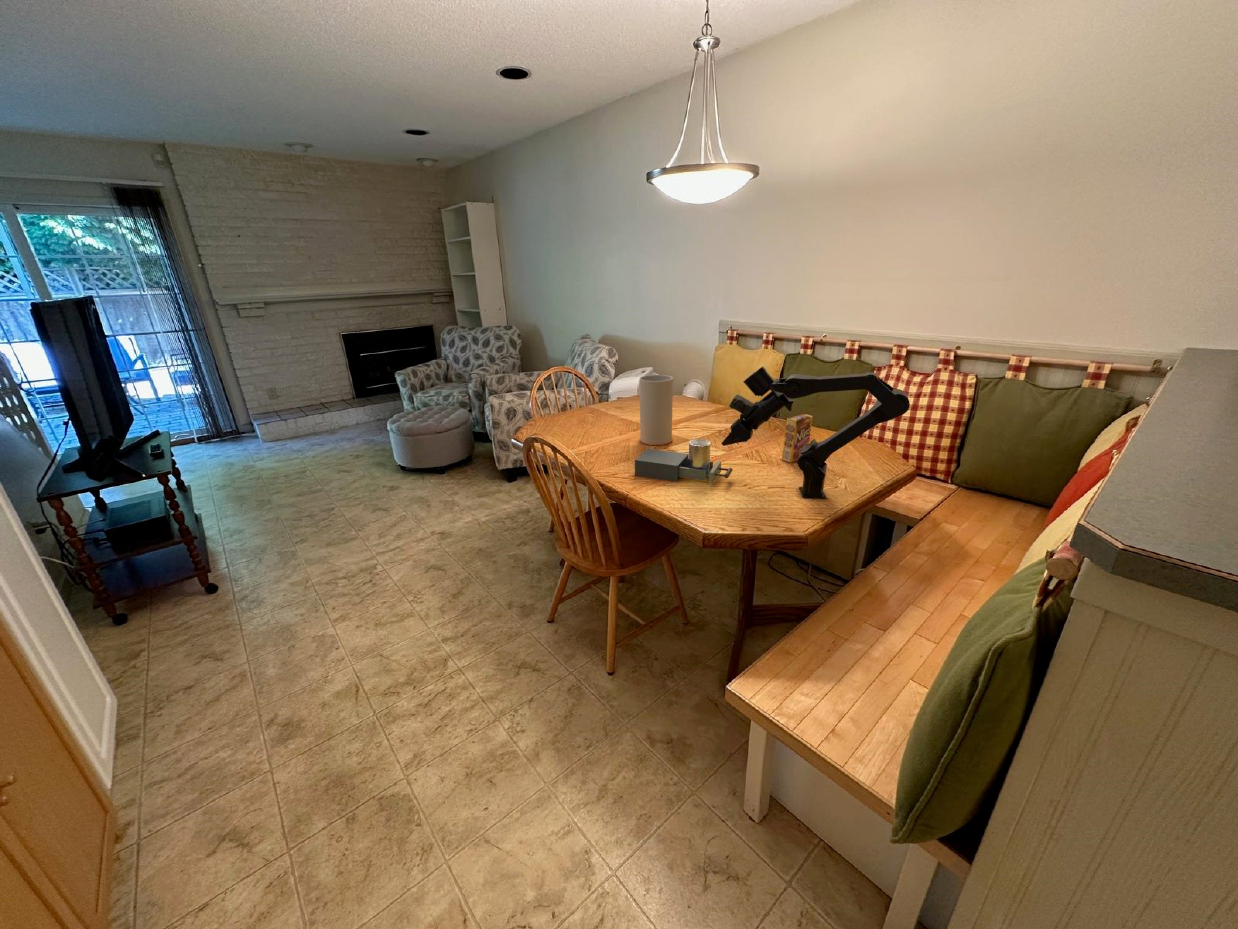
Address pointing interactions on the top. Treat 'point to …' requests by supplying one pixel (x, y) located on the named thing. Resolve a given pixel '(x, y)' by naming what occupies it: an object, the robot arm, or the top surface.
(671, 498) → the top surface
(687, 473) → the drawer
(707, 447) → the metal can
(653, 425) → the cylinder vase
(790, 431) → the candy box
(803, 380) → the robot arm
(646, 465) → the cabinet
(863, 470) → the top surface
